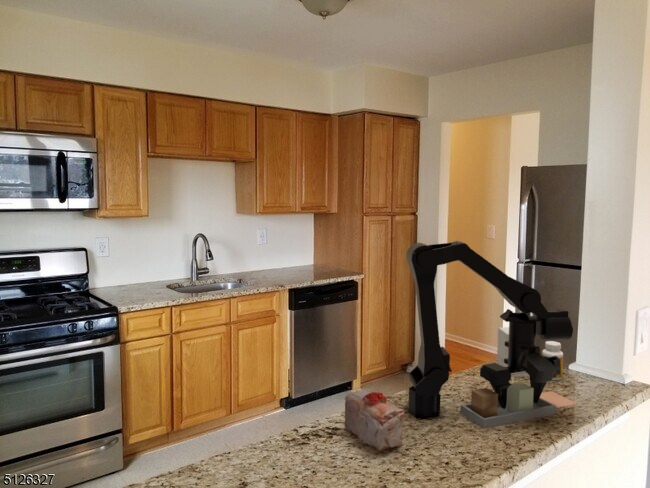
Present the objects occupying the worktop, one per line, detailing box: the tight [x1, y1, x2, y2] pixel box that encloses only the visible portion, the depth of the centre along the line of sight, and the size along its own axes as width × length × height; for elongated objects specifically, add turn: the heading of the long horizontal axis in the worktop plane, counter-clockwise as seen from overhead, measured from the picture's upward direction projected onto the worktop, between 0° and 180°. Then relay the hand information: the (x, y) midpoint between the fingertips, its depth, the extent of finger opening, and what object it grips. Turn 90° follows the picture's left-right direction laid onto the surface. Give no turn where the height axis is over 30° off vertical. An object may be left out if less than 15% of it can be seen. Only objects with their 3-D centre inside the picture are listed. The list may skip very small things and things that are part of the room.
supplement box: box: [496, 326, 530, 377], centre depth 142 cm, size 7×7×13 cm
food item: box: [344, 389, 406, 452], centre depth 104 cm, size 14×8×10 cm, turn 35°
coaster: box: [540, 391, 578, 409], centre depth 123 cm, size 8×8×1 cm
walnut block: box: [470, 387, 498, 418], centre depth 113 cm, size 4×4×6 cm
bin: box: [460, 398, 557, 429], centre depth 115 cm, size 20×8×2 cm, turn 111°
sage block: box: [506, 381, 534, 413], centre depth 116 cm, size 4×4×6 cm
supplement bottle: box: [541, 340, 564, 381], centre depth 139 cm, size 5×5×10 cm
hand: (519, 405), depth 116 cm, fingers open, 9 cm apart
